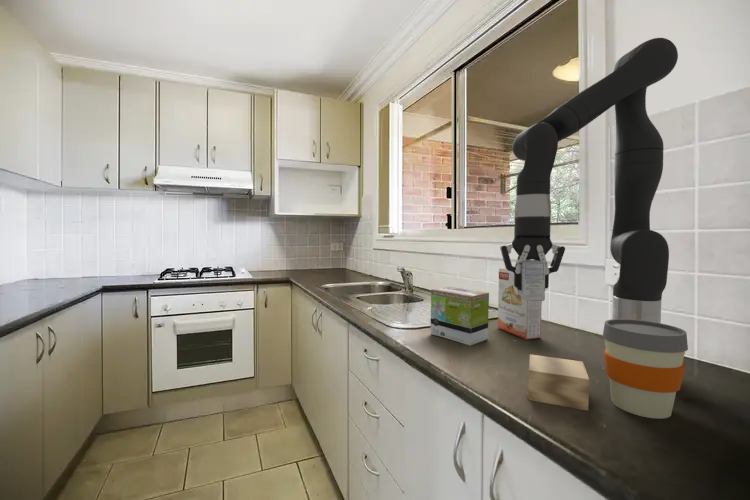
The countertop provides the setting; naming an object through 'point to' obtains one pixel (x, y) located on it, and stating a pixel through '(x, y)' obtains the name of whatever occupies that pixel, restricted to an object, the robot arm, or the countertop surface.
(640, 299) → the robot arm
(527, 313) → the cracker box
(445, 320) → the tea box
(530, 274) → the medicine box
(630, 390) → the reusable coffee cup
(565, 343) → the countertop surface
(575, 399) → the oak block
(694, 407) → the countertop surface
